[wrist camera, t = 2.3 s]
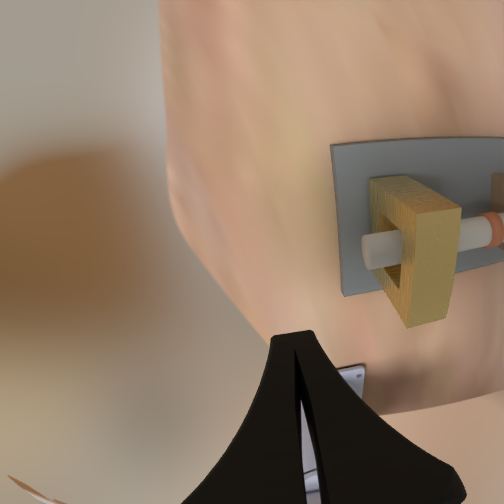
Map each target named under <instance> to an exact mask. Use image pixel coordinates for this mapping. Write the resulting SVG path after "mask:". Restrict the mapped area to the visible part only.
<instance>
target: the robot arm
mask: <svg viewBox="0 0 504 504" xmlns="http://www.w3.org/2000/svg"><path fill="white" fill-rule="evenodd" d="M364 376H365V368H364V366H361V365H360V366H355V367H350V368H345V369H340V370H337V369H336V368H335V366H334V365H333V364H332V362H331V361H330V360H329V358H328V357H327V355H326V353H325V352H324V350H323V349H322V347H321V345H320V344H319V342H318V340H317V338H316V336H315V334H314V332H313V331H312V330H306V331H300V332H293V333H287V334H280V335H274V336H273V337H272V338H271V341H270V350H269V354H268V359H267V362H266V366H265V370H264V373H263V376H262V379H261V382H260V385H259V387H258V390H257V393H256V395H255V397H254V399H253V402H252V404H251V407H250V409H249V411H248V413H247V415H246V417H245V419H244V421H243V423H242V425H241V427H240V429H239V430H238V432H237V434H236V435H235V437H234V438H233V440H232V442H231V443H230V445H229V446H228V448H227V450H226V451H225V453H224V454H223V455H222V457H221V458H220V460H219V461H218V462H217V464H216V465H215V466H214V467H213V469H212V470H211V471H210V472H209V474H208V475H207V476H206V477H205V479H204V480H203V481H202V482H201V483H200V485H199V486H198V487H197V488H196V489H195V490H194V491H193V492H192V493H191V494H190V495H189V496H188V497H187V498H186V499H185V500H184V501H183V502H182V503H181V504H461V503H462V502H463V501H464V500H465V498H466V496H467V493H466V490H465V487H464V485H463V483H462V481H461V479H460V478H459V476H458V474H457V472H456V471H455V469H454V468H453V467H452V466H450V465H449V464H447V463H445V462H443V461H441V460H439V459H437V458H436V457H434V456H432V455H431V454H429V453H427V452H426V451H424V450H423V449H421V448H420V447H418V446H417V445H415V444H413V443H412V442H411V441H409V440H408V439H407V438H405V437H404V436H403V435H401V434H400V433H399V432H397V431H396V430H395V429H394V428H392V427H391V426H390V425H388V424H387V423H386V422H385V421H384V420H383V419H382V418H381V417H379V416H378V415H377V414H376V413H375V412H374V411H373V410H372V409H371V408H370V407H369V406H368V405H367V404H366V403H365V402H364V401H363V400H362V394H363V386H364Z"/></svg>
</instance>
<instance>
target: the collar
mask: <svg viewBox="0 0 504 504" xmlns="http://www.w3.org/2000/svg"><path fill="white" fill-rule="evenodd" d="M368 181H369V198H370V222H371V234H374V233H380V232H386V231H393V230H399V229H400V230H401V231H402V258H401V264H398V265H392V266H387V267H382V268H377V269H371V271H372V273H373V274H374V276H375V277H376V279H377V280H378V282H379V283H380V285H381V287H382V288H383V290H384V291H385V293H386V295H387V296H388V298H389V300H390V301H391V303H392V304H393V306H394V308H395V309H396V311H397V313H398V314H399V316H400V318H401V319H402V321H403V323H404V325H405V326H406V328H411V327H415V326H418V325H422V324H426V323H430V322H433V321H437V320H440V319H444V318H446V315H447V311H448V306H449V301H450V296H451V290H452V285H453V279H454V273H455V266H456V259H457V251H458V243H459V234H460V223H461V209H462V208H461V207H460V206H458V205H457V204H455V203H453V202H452V201H450V200H448V199H447V198H445V197H443V196H442V195H440V194H438V193H437V192H435V191H433V190H431V189H430V188H428V187H426V186H424V185H422V184H421V183H419V182H417V181H415V180H413V179H412V178H410V177H408V176H406V175H399V176H389V177H380V178H372V179H368Z"/></svg>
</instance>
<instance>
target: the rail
mask: <svg viewBox="0 0 504 504" xmlns="http://www.w3.org/2000/svg"><path fill="white" fill-rule="evenodd" d="M330 151H331V159H332V168H333V177H334V187H335V198H336V209H337V222H338V236H339V252H340V273H341V291H342V294H343V296H344V297H346V296H352V295H357V294H362V293H367V292H372V291H377V290H382V289H383V288H382V287H381V285H380V283H379V282H378V280H377V279H376V277H375V276H374V274H373V273H372V271H371V269H377V268H382V267H387V266H392V265H398V264H401V258H402V231H401V230H400V229H399V230H393V231H386V232H380V233H374V234H371V222H370V198H369V181H368V179H372V178H380V177H389V176H399V175H406V176H408V177H410V178H412V179H413V180H415V181H417V182H419V183H421V184H422V185H424V186H426V187H428V188H430V189H431V190H433V191H435V192H437V193H438V194H440V195H442V196H443V197H445V198H447V199H448V200H450V201H452V202H453V203H455V204H457V205H458V206H460V207H461V208H462V209H461V223H460V234H459V243H458V251H457V259H456V266H455V273H458V272H462V271H466V270H470V269H474V268H478V267H482V266H486V265H490V264H494V263H497V262H501V261H504V137H426V138H406V139H390V140H376V141H365V142H354V143H344V144H335V145H330Z"/></svg>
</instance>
